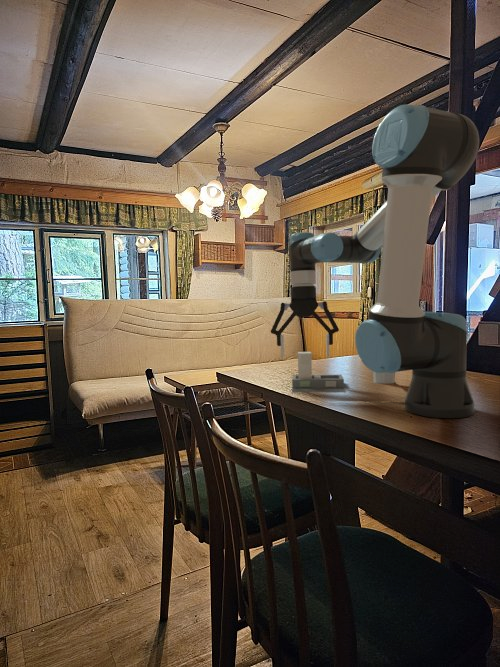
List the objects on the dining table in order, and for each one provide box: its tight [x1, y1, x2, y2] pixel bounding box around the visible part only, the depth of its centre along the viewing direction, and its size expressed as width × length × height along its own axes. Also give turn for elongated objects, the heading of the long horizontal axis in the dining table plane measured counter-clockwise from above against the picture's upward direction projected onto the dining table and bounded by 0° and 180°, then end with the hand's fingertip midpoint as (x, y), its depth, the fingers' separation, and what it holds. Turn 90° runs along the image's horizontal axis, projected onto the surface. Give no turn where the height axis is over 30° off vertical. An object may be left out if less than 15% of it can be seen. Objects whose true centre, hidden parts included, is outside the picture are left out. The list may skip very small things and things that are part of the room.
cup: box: [372, 371, 396, 385], centre depth 134 cm, size 8×8×12 cm
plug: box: [297, 351, 313, 379], centre depth 132 cm, size 5×4×10 cm
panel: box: [291, 374, 346, 393], centre depth 132 cm, size 20×15×4 cm
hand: (305, 356), depth 131 cm, fingers open, 13 cm apart
